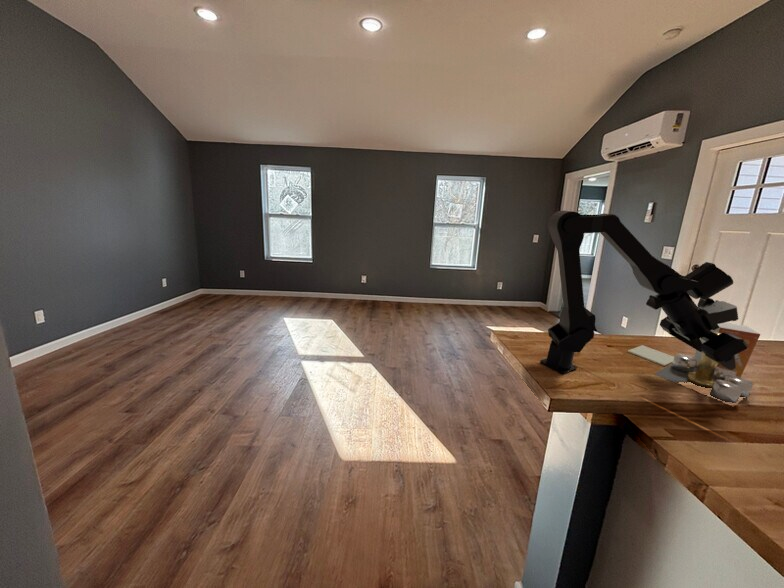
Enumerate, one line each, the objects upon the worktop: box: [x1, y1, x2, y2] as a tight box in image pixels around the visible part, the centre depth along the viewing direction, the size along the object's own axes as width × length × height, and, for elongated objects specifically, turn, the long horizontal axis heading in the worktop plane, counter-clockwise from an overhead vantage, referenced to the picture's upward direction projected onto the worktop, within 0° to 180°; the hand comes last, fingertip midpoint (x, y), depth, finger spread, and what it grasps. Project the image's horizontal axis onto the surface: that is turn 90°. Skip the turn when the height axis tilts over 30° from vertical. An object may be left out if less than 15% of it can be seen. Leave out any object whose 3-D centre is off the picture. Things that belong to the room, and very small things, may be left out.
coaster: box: [627, 344, 675, 367], centre depth 92 cm, size 9×9×1 cm
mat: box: [653, 364, 697, 385], centre depth 80 cm, size 15×15×1 cm
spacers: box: [670, 353, 754, 403], centre depth 79 cm, size 15×15×4 cm
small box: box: [692, 322, 761, 377], centre depth 85 cm, size 8×6×13 cm
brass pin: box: [687, 332, 721, 388], centre depth 77 cm, size 5×5×13 cm
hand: (716, 359), depth 77 cm, fingers open, 9 cm apart
